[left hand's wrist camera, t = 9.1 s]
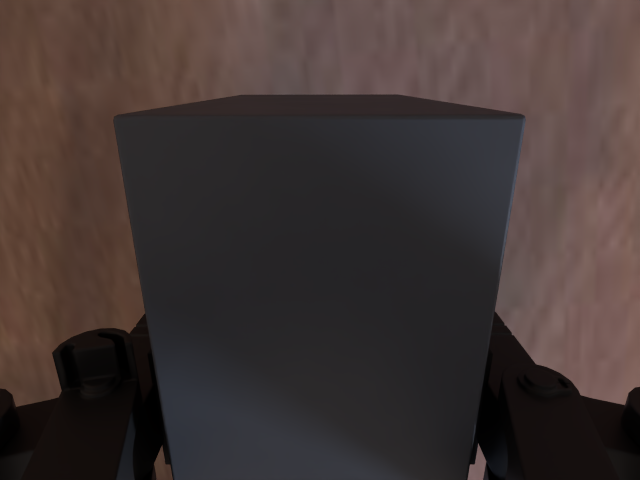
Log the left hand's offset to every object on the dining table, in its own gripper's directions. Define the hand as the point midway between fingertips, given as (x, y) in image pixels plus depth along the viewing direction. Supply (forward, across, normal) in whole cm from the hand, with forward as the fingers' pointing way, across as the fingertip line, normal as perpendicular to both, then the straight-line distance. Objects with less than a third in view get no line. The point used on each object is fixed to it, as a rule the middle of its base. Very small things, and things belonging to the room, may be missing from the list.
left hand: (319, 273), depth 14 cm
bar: (+1, 0, -21) cm, 21 cm away
